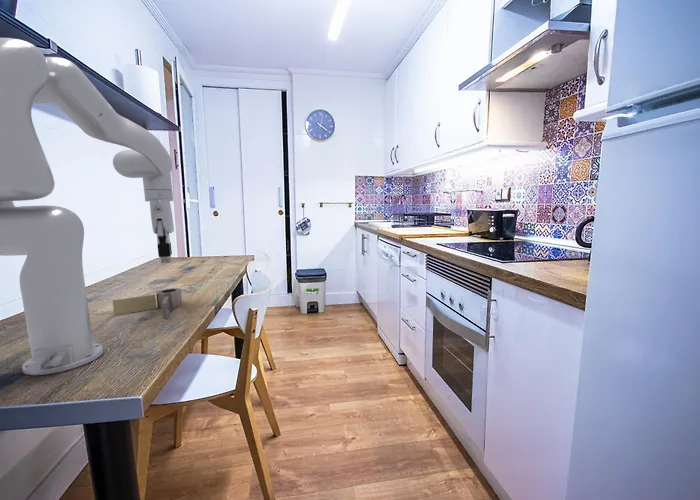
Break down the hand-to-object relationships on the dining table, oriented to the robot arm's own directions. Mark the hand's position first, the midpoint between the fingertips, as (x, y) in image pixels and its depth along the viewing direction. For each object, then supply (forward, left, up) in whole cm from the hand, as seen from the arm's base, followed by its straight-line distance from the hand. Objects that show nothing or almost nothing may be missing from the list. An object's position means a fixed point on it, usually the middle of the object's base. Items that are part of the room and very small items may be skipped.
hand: (165, 255), depth 103 cm
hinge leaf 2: (-5, 0, -16) cm, 17 cm away
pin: (0, 0, -2) cm, 2 cm away
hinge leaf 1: (-1, +9, -16) cm, 19 cm away
